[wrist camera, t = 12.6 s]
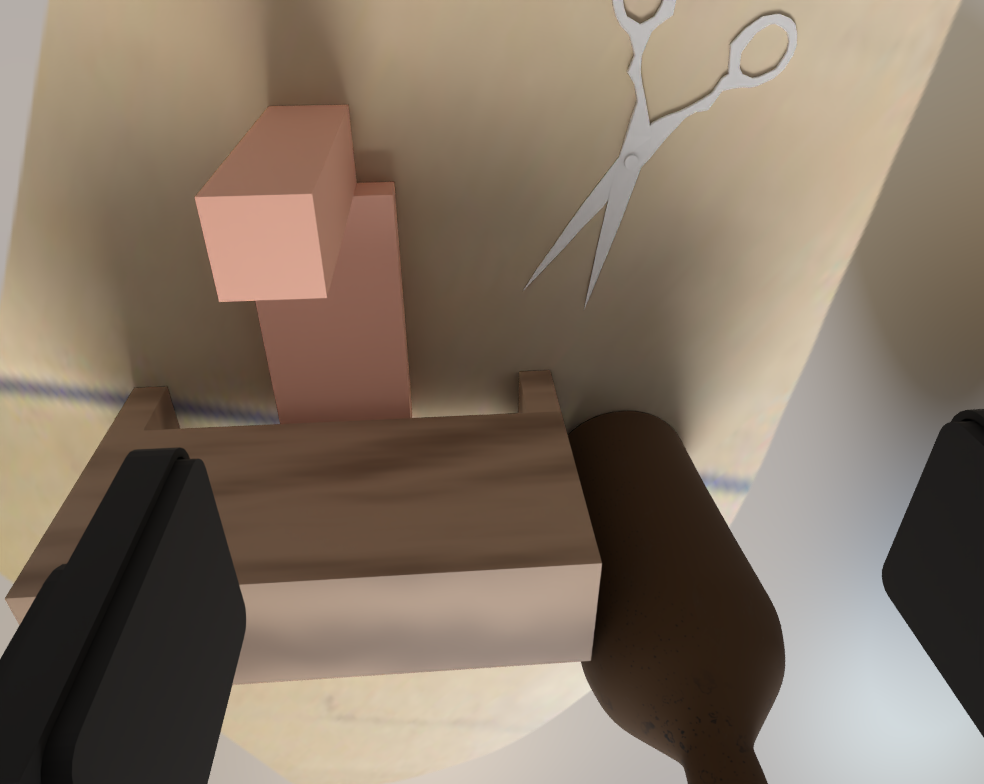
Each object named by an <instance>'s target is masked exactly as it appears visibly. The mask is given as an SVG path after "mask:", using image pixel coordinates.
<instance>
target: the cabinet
mask: <svg viewBox="0 0 984 784" xmlns="http://www.w3.org/2000/svg"><path fill="white" fill-rule="evenodd" d="M177 447H181V448H184V449H185V450H186V452H187V453H188V455H189V457H190V459H198V458H199V459H201V460H202V461H203V462H204V464H205V467H206V470H207V474H208V477H209V481H210V484H211V488H212V491H213V495H214V498H215V502H216V505H217V509H218V512H219V516H220V519H221V523H222V526H223V530H224V533H225V537H226V540H227V544H228V547H229V551H230V554H231V558H232V561H233V565H234V568H235V572H236V575H237V579H238V582H239V586H240V589H241V593H242V596H243V600H244V603H245V608H246V631H245V636H244V640H243V644H242V648H241V652H240V656H239V660H238V664H237V668H236V672H235V676H234V680H233V684H232V685H238V684H253V683H268V682H283V681H298V680H312V679H327V678H342V677H357V676H372V675H387V674H402V673H416V672H431V671H446V670H461V669H476V668H491V667H506V666H521V665H535V664H550V663H565V662H580V661H591V655H592V646H593V638H594V629H595V620H596V611H597V603H598V594H599V585H600V577H601V568H602V561H601V558H600V554H599V550H598V547H597V543H596V539H595V535H594V532H593V528H592V524H591V521H590V517H589V513H588V509H587V506H586V502H585V498H584V495H583V491H582V487H581V483H580V480H579V476H578V472H577V469H576V465H575V461H574V457H573V454H572V450H571V446H570V443H569V439H568V435H567V431H566V428H565V424H564V420H563V417H562V413H561V409H560V405H559V402H558V398H557V394H556V391H555V387H554V383H553V379H552V376H551V372H550V370H543V371H520V372H519V399H518V413H512V414H490V415H469V416H447V417H425V418H404V419H382V420H360V421H338V422H317V423H295V424H273V425H252V426H230V427H208V428H186V429H180V427H179V424H178V421H177V417H176V414H175V411H174V407H173V404H172V401H171V397H170V394H169V391H168V387H144V388H134V389H133V391H132V392H131V394H130V396H129V397H128V399H127V401H126V402H125V404H124V405H123V407H122V409H121V410H120V412H119V414H118V415H117V417H116V418H115V420H114V422H113V423H112V425H111V427H110V428H109V430H108V431H107V433H106V435H105V436H104V438H103V440H102V441H101V443H100V444H99V446H98V448H97V449H96V451H95V453H94V454H93V456H92V457H91V459H90V461H89V462H88V464H87V466H86V467H85V469H84V470H83V472H82V474H81V475H80V477H79V479H78V480H77V482H76V483H75V485H74V487H73V488H72V490H71V492H70V493H69V495H68V497H67V498H66V500H65V501H64V503H63V505H62V506H61V508H60V510H59V511H58V513H57V514H56V516H55V518H54V519H53V521H52V523H51V524H50V526H49V527H48V529H47V531H46V532H45V534H44V536H43V537H42V539H41V540H40V542H39V544H38V545H37V547H36V549H35V550H34V552H33V553H32V555H31V557H30V558H29V560H28V562H27V563H26V565H25V566H24V568H23V570H22V571H21V573H20V575H19V576H18V578H17V580H16V581H15V583H14V584H13V586H12V588H11V589H10V591H9V593H8V594H7V596H6V597H5V600H6V602H7V603H8V605H9V607H10V609H11V611H12V613H13V615H14V616H15V618H16V620H17V621H18V623H19V625H20V624H21V622H22V620H23V618H24V617H25V615H26V613H27V611H28V610H29V608H30V606H31V604H32V603H33V601H34V599H35V597H36V596H37V594H38V592H39V590H40V589H41V587H42V585H43V583H44V582H45V580H46V579H47V578H48V576H49V575H50V574H51V572H52V571H53V570H54V569H56V568H57V567H59V566H60V565H62V564H67V562H68V561H69V559H70V557H71V555H72V553H73V552H74V550H75V548H76V546H77V544H78V543H79V541H80V539H81V537H82V535H83V534H84V532H85V530H86V528H87V526H88V524H89V523H90V521H91V519H92V517H93V515H94V514H95V512H96V510H97V508H98V506H99V505H100V503H101V501H102V499H103V497H104V495H105V494H106V492H107V490H108V488H109V486H110V485H111V483H112V481H113V479H114V477H115V476H116V474H117V472H118V470H119V468H120V466H121V465H122V463H123V461H124V459H125V457H126V456H127V455H128V454H129V452H130V451H133V450H135V449H156V448H177Z"/></svg>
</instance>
